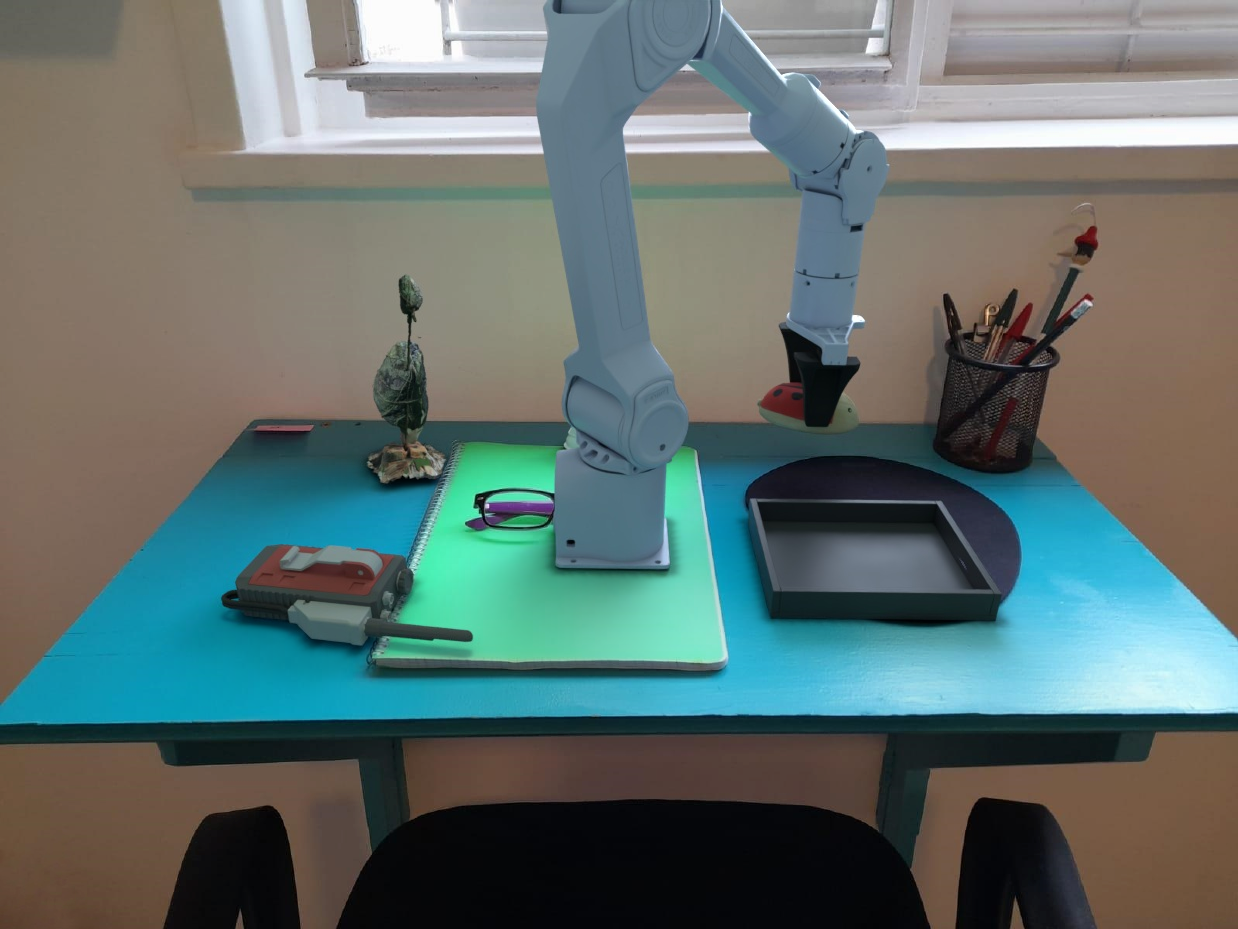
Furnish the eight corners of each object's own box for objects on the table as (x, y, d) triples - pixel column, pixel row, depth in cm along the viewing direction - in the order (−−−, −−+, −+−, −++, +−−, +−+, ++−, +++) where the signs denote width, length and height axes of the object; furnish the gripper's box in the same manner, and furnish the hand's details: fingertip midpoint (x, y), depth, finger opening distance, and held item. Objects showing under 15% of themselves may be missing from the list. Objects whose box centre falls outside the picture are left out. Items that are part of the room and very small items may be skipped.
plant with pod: (452, 438, 94) (436, 253, 85) (443, 488, 84) (423, 285, 75) (376, 440, 93) (351, 254, 84) (357, 491, 83) (327, 286, 74)
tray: (770, 618, 66) (773, 591, 65) (747, 522, 79) (749, 498, 78) (995, 620, 66) (1002, 594, 65) (936, 524, 79) (941, 500, 78)
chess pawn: (583, 454, 90) (582, 410, 88) (559, 449, 91) (558, 405, 89) (595, 443, 93) (595, 400, 90) (571, 438, 94) (570, 396, 91)
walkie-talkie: (207, 634, 64) (469, 662, 61) (194, 584, 62) (464, 612, 59) (267, 568, 72) (502, 590, 69) (257, 522, 70) (499, 543, 67)
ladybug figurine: (855, 444, 81) (860, 409, 79) (749, 429, 83) (752, 394, 82) (860, 416, 86) (865, 383, 85) (761, 403, 89) (764, 370, 87)
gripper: (893, 293, 71) (869, 442, 78) (851, 252, 84) (834, 382, 91) (807, 292, 71) (790, 441, 78) (779, 250, 84) (766, 381, 91)
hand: (809, 409), depth 84 cm, fingers closed on ladybug figurine, 7 cm apart
